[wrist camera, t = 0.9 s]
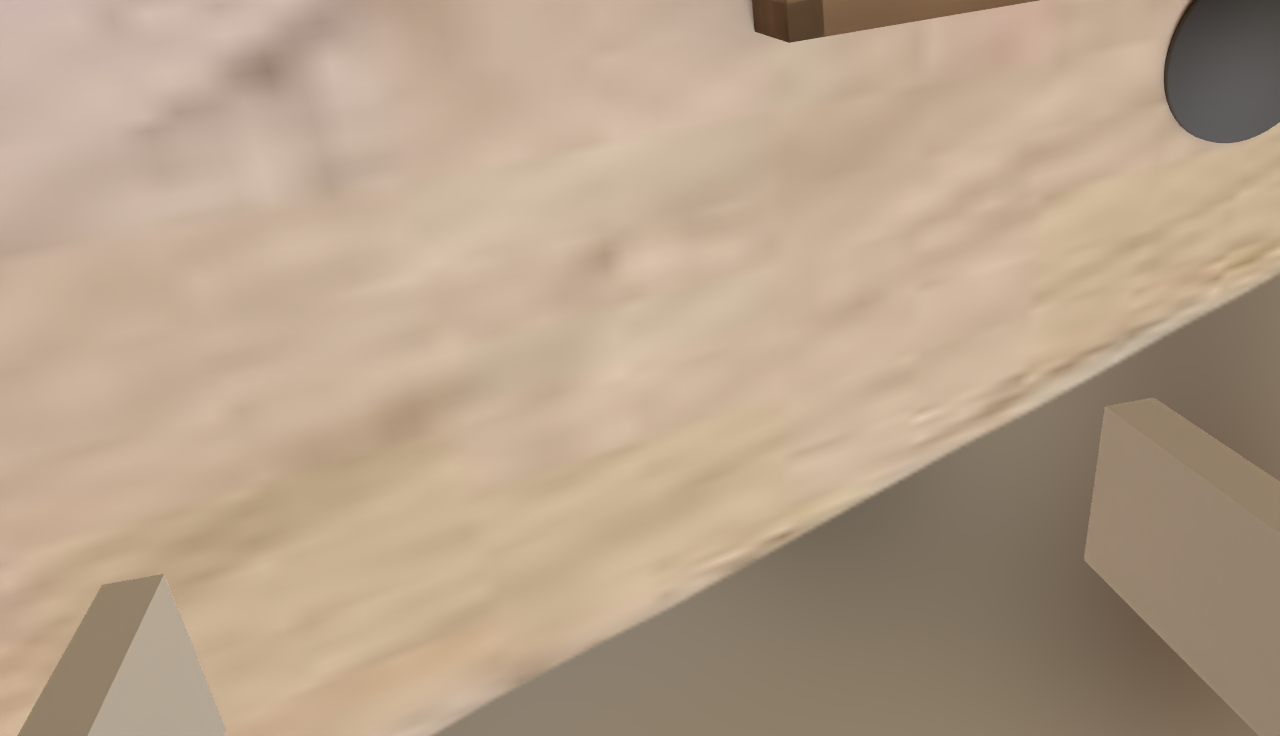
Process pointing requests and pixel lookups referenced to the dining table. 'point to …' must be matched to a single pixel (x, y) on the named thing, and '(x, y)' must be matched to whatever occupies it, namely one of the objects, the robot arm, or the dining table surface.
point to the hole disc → (1225, 69)
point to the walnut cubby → (853, 15)
